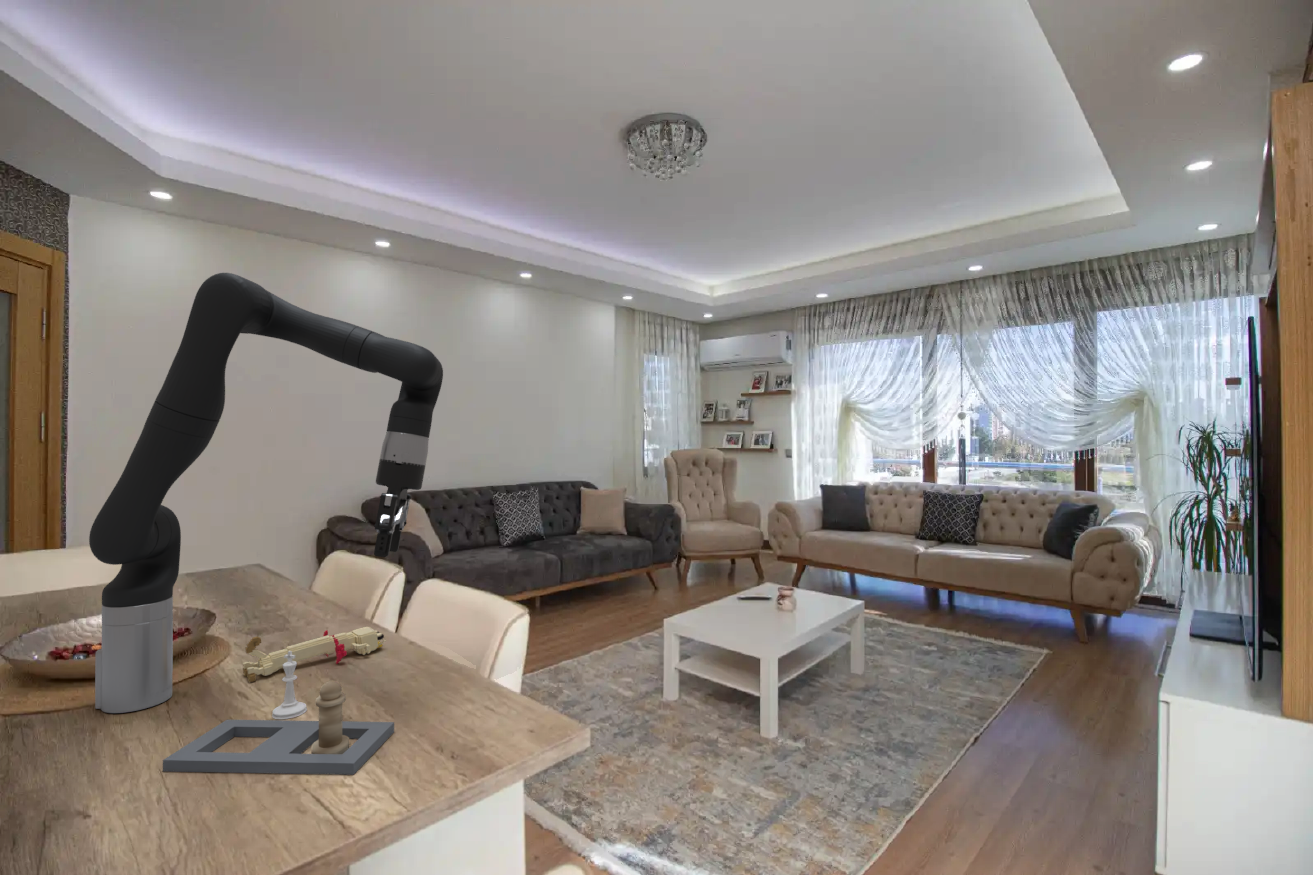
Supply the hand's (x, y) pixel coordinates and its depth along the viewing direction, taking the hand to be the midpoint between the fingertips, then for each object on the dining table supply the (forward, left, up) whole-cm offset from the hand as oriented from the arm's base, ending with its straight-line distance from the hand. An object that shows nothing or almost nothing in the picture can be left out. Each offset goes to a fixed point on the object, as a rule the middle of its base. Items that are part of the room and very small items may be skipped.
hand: (386, 553), depth 106 cm
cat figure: (-21, +17, -25) cm, 37 cm away
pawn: (0, -18, -25) cm, 31 cm away
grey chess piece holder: (-6, -18, -25) cm, 31 cm away
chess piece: (-13, -6, -25) cm, 29 cm away
